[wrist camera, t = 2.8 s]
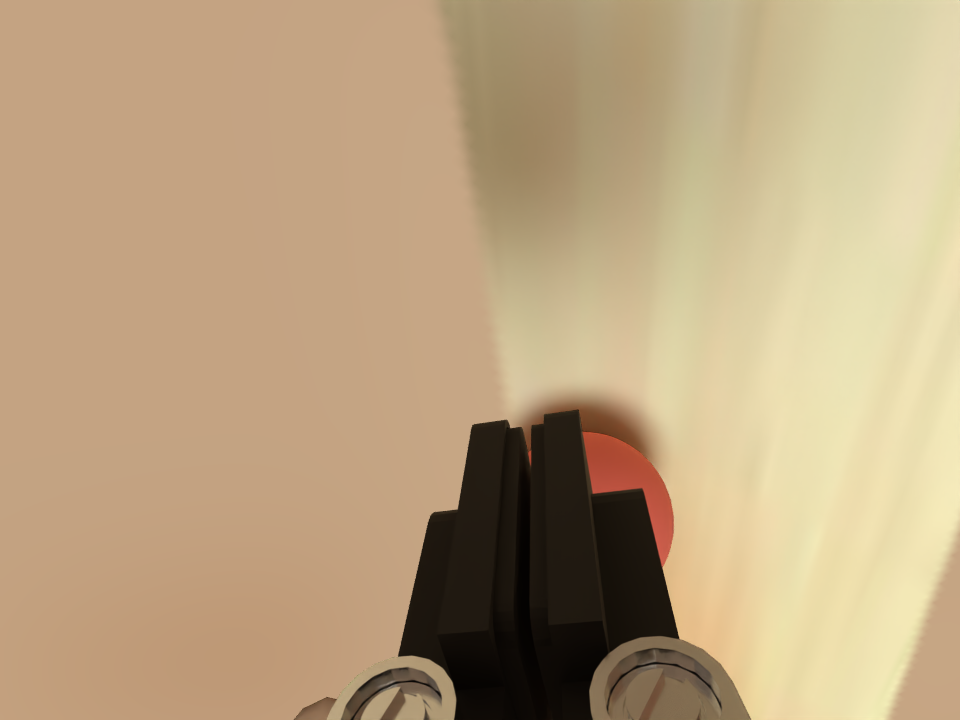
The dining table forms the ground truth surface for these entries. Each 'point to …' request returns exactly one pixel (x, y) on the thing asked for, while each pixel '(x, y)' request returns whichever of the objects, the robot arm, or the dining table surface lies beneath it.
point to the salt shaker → (317, 710)
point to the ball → (630, 481)
